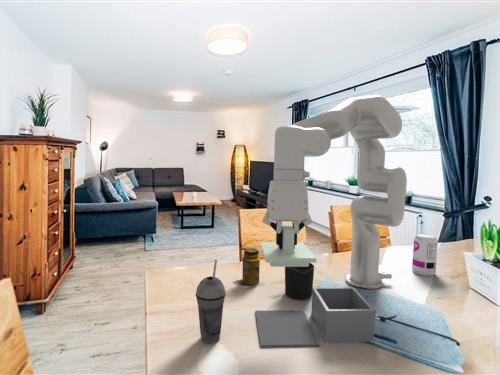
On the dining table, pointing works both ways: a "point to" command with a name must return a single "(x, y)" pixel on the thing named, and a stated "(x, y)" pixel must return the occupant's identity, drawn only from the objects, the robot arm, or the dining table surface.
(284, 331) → the dark grey flat plate
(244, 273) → the condiment
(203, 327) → the beverage cup
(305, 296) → the pen holder
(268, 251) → the green slab
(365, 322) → the tub
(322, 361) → the dining table surface
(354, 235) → the robot arm
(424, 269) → the supplement can
